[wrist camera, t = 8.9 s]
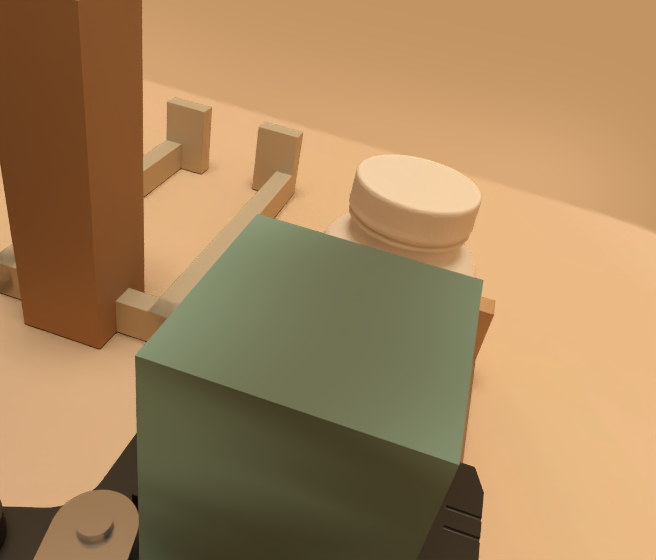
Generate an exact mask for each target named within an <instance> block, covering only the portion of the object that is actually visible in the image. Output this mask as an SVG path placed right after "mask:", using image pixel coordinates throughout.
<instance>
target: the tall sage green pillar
mask: <svg viewBox="0 0 656 560" xmlns="http://www.w3.org/2000/svg"><path fill="white" fill-rule="evenodd" d="M482 285H483V280H481V279H477V278H474V277H471V276H467V275H464V274H460V273H457V272H454V271H450V270H447V269H443V268H440V267H437V266H433V265H430V264H426V263H423V262H420V261H416V260H413V259H409V258H406V257H403V256H399V255H396V254H393V253H389V252H386V251H382V250H379V249H376V248H372V247H369V246H365V245H362V244H359V243H355V242H352V241H348V240H345V239H342V238H338V237H335V236H331V235H328V234H325V233H321V232H318V231H314V230H311V229H308V228H304V227H301V226H297V225H294V224H291V223H287V222H284V221H280V220H277V219H274V218H270V217H267V216H263V215H260V214H257V215H256V216H255V217H254V218H253V219H252V220H251V222H250V223H249V224H248V225H247V226H246V227H245V228H244V230H243V231H242V232H241V233H240V234H239V235H238V237H237V238H236V239H235V240H234V241H233V242H232V244H231V245H230V246H229V247H228V248H227V249H226V251H225V252H224V253H223V254H222V255H221V256H220V258H219V259H218V260H217V261H216V262H215V263H214V265H213V266H212V267H211V268H210V269H209V270H208V272H207V273H206V274H205V275H204V276H203V277H202V278H201V280H200V281H199V282H198V283H197V284H196V285H195V287H194V288H193V289H192V290H191V291H190V292H189V294H188V295H187V296H186V297H185V298H184V299H183V301H182V302H181V303H180V304H179V305H178V306H177V308H176V309H175V310H174V311H173V312H172V313H171V315H170V316H169V317H168V318H167V319H166V320H165V322H164V323H163V324H162V325H161V326H160V327H159V328H158V330H157V331H156V332H155V333H154V334H153V335H152V337H151V338H150V339H149V340H148V341H147V342H146V344H145V345H144V346H143V347H142V348H141V349H140V351H139V352H138V353H137V354H136V355H135V368H136V417H137V467H138V517H139V560H417V557H418V555H419V553H420V551H421V549H422V546H423V544H424V542H425V540H426V538H427V535H428V533H429V531H430V529H431V527H432V524H433V522H434V520H435V518H436V516H437V513H438V511H439V509H440V507H441V505H442V502H443V500H444V498H445V496H446V494H447V491H448V489H449V487H450V485H451V482H452V480H453V478H454V476H455V474H456V471H457V469H458V467H459V464H460V462H461V463H463V456H464V448H465V440H466V432H467V423H468V415H469V407H470V399H471V391H472V383H473V375H474V367H475V359H476V357H477V355H478V352H479V350H480V347H481V345H482V343H483V340H484V338H485V335H486V333H487V330H488V328H489V326H490V323H491V321H492V318H493V316H494V309H495V300H491V299H488V298H484V297H481V293H482Z"/></svg>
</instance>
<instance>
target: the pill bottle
mask: <svg viewBox="0 0 656 560" xmlns="http://www.w3.org/2000/svg"><path fill="white" fill-rule="evenodd" d="M349 202H350V204H349V212H348V213H345V214H343V215H342V216H340V217H338V218H337V219H336V220H334V221H333V222H332V223H331V224H330V225H329V226H328V228H327V229H326V231H325V232H324V233H325V234H328V235H331V236H335V237H338V238H342V239H345V240H348V241H352V242H355V243H359V244H362V245H365V246H369V247H372V248H376V249H379V250H382V251H386V252H389V253H393V254H396V255H399V256H403V257H406V258H409V259H413V260H416V261H420V262H423V263H426V264H430V265H433V266H437V267H440V268H443V269H447V270H450V271H454V272H457V273H460V274H464V275H467V276H471V277H474V278H476V268H475V264H474V260H473V257H472V255H471V253H470V251H469V249H468V248H467V246H466V245H465V242H466V241H467V240H468V238H469V235H470V233H471V231H472V229H473V226H474V223H475V219H476V216H477V213H478V210H479V207H480V204H481V193H480V191H479V189H478V187H477V186H476V185H475V184H474V183H473V182H472V181H471V180H470V179H468V178H467V177H466V176H464V175H463V174H461V173H459V172H458V171H456V170H454V169H452V168H450V167H447V166H445V165H442V164H440V163H437V162H434V161H431V160H427V159H423V158H419V157H414V156H407V155H396V154H388V155H378V156H373V157H370V158H368V159H366V160H364V161H363V162H361V164H360V165H359V166H358V168H357V171H356V175H355V179H354V183H353V187H352V191H351V194H350V199H349Z"/></svg>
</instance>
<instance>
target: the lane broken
mask: <svg viewBox="0 0 656 560" xmlns="http://www.w3.org/2000/svg"><path fill="white" fill-rule="evenodd" d="M211 114H212V107H209V106H206V105H202V104H198V103H194V102H191V101H187V100H183V99H180V98H176V97H175V98H173V99H171V100H170V101H168V102H167V140H166V141H164V142H163V143H161V144H160V145H158V146H157V147H155V148H154V149H152V150H151V151H149V152H148V153H147V154H145V155H144V156H143V84H142V0H0V165H1V171H2V178H3V184H4V191H5V197H6V204H7V210H8V217H9V223H10V230H11V236H12V243H13V244H11V245H10V246H9V247H7V248H6V249H4V250H3V251H1V252H0V293H3V294H6V295H9V296H12V297H15V298H18V299H21V301H22V308H23V314H24V321H25V324H28V325H31V326H34V327H36V328H39V329H42V330H45V331H48V332H51V333H54V334H57V335H60V336H63V337H66V338H69V339H72V340H75V341H78V342H81V343H84V344H87V345H89V346H92V347H95V348H98V349H101V348H102V347H103V345H104V344H105V343H106V342H107V341H108V340H109V339H110V338H111V337H112V336H113V335H114V334H115V333H116V332H120V333H123V334H126V335H129V336H132V337H135V338H138V339H141V340H144V341H148V340H149V339H150V338H151V337H152V335H153V334H154V333H155V332H156V331H157V330H158V328H159V327H160V326H161V325H162V324H163V323H164V322H165V320H166V319H167V318H168V317H169V316H170V315H171V313H172V312H173V311H174V310H175V309H176V308H177V306H178V305H179V304H180V303H181V302H182V301H183V299H184V298H185V297H186V296H187V295H188V294H189V292H190V291H191V290H192V289H193V288H194V287H195V285H196V284H197V283H198V282H199V281H200V280H201V278H202V277H203V276H204V275H205V274H206V273H207V272H208V270H209V269H210V268H211V267H212V266H213V265H214V263H215V262H216V261H217V260H218V259H219V258H220V256H221V255H222V254H223V253H224V252H225V251H226V249H227V248H228V247H229V246H230V245H231V244H232V242H233V241H234V240H235V239H236V238H237V237H238V235H239V234H240V233H241V232H242V231H243V230H244V228H245V227H246V226H247V225H248V224H249V223H250V222H251V220H252V219H253V218H254V217H255V216H256V215H257V214H260V215H263V216H267V217H270V218H274V217H275V216H276V215H277V214H278V212H279V211H280V210H281V209H282V207H283V206H284V205H285V204H286V202H287V201H288V200H289V199H290V197H291V196H292V195H293V194H294V191H295V184H296V177H297V171H298V164H299V157H300V151H301V144H302V137H303V132H301V131H297V130H294V129H290V128H286V127H283V126H279V125H275V124H272V123H268V122H264V123H263V124H262V125H260V126H259V130H258V139H257V149H256V158H255V168H254V177H253V186H252V189H255V190H258V192H257V193H256V194H255V195H254V196H253V197H252V198H251V200H250V201H249V202H248V203H247V204H246V205H245V206H244V207H243V208H242V209H241V210H240V211H239V213H238V214H237V215H236V216H235V217H234V218H233V219H232V220H231V221H230V222H229V223H228V224H227V226H226V227H225V228H224V229H223V230H222V231H221V232H220V233H219V234H218V235H217V236H216V237H215V239H214V240H213V241H212V242H211V243H210V244H209V245H208V246H207V247H206V248H205V249H204V250H203V252H202V253H201V254H200V255H199V256H198V257H197V258H196V259H195V260H194V261H193V262H192V264H191V265H190V266H189V267H188V268H187V269H186V270H185V271H184V272H183V273H182V274H181V275H180V277H179V278H178V279H177V280H176V281H175V282H174V283H173V284H172V285H171V286H170V287H169V288H168V290H167V291H166V292H165V293H164V294H163V295H162V296H161V297H160V298H159V297H156V296H153V295H149V294H146V293H144V206H143V197H144V196H146V195H147V194H148V193H150V192H151V191H152V190H153V189H155V188H156V187H157V186H158V185H160V184H161V183H162V182H164V181H165V180H166V179H167V178H169V177H170V176H171V175H173V174H174V173H175V172H176V171H178V170H179V169H180V168H182V169H186V170H189V171H193V172H196V173H199V174H202V173H203V172H204V171H206V170H207V169H208V165H209V148H210V131H211Z"/></svg>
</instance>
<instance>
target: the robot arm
mask: <svg viewBox="0 0 656 560" xmlns="http://www.w3.org/2000/svg"><path fill="white" fill-rule="evenodd" d="M483 495H484V492H483V489H482V486H481V483H480V480H479V478H478V475H477V472H476V469H475V467H473V466H470V465H467V464H464V463H461V462H460V464H459V467H458V469H457V471H456V474H455V476H454V478H453V480H452V482H451V485H450V487H449V489H448V491H447V494H446V496H445V498H444V500H443V502H442V505H441V507H440V509H439V511H438V513H437V516H436V518H435V520H434V522H433V524H432V527H431V529H430V531H429V533H428V535H427V538H426V540H425V542H424V544H423V546H422V549H421V551H420V553H419V555H418V557H417V560H478V558H479V545H480V543H479V539H480V533H481V518H482V508H483ZM0 560H139V517H138V467H137V433H136V435H135V436H134V437H133V439H132V440H131V442H130V443H129V444H128V446H127V447H126V448H125V450H124V451H123V453H122V454H121V455H120V457H119V458H118V459H117V461H116V462H115V464H114V465H113V466H112V468H111V469H110V470H109V472H108V473H107V475H106V476H105V477H104V479H103V480H102V481H101V483H100V484H99V485H98V486H97V487H96V488H95V489H94V490H93V491H89V492H86V493H83V494H80V495H78V496H76V497H74V498H73V499H71V500H70V501H68V502H67V503H66V504H65V505H63V506H58V507H52V508H34V507H3V506H2V503H1V501H0Z"/></svg>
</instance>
